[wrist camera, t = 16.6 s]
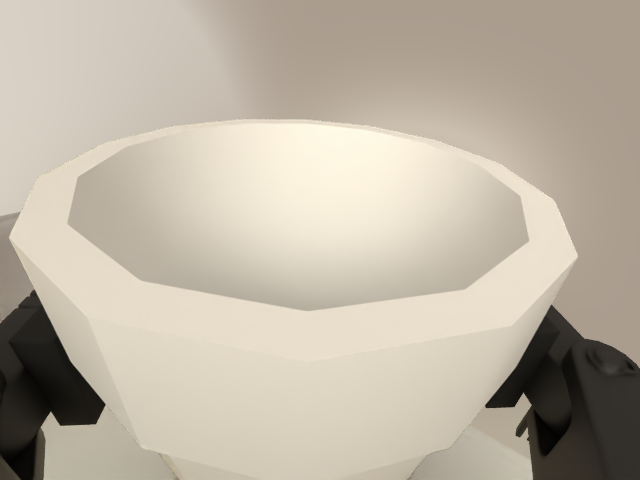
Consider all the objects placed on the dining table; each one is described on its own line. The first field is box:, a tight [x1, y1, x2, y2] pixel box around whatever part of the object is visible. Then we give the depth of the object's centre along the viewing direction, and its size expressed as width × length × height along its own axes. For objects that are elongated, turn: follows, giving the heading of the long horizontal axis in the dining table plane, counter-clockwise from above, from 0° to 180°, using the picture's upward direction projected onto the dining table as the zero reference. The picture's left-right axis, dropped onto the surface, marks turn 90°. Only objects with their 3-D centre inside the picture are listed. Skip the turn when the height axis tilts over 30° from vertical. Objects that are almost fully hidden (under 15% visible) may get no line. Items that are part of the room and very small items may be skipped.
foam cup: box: [9, 119, 578, 480], centre depth 10 cm, size 10×9×13 cm
